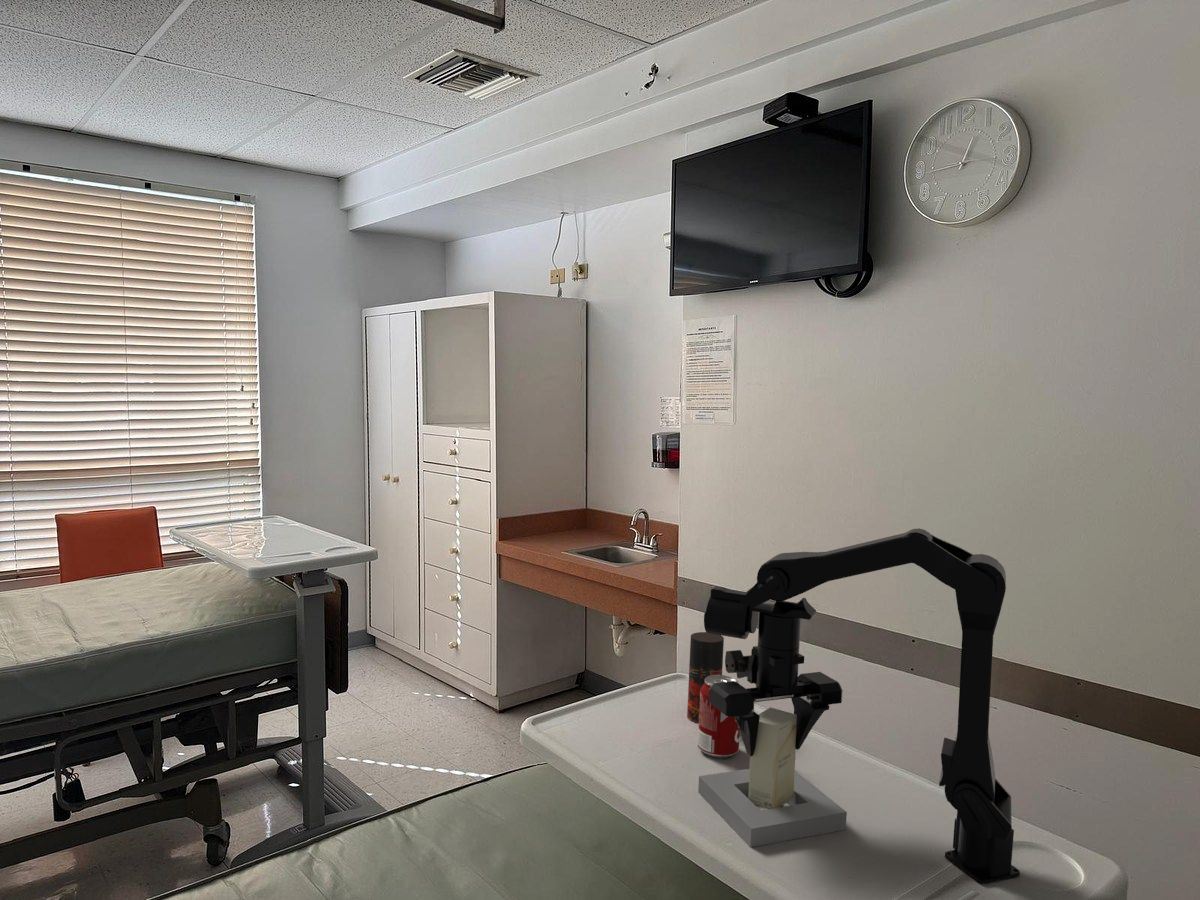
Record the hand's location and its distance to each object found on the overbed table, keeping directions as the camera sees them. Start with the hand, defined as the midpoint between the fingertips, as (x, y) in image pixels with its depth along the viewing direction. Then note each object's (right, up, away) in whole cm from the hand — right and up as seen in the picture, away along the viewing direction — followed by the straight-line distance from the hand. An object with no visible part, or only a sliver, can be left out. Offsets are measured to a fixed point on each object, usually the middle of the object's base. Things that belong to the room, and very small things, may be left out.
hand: (773, 751), depth 116 cm
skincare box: (0, -7, +1) cm, 7 cm away
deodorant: (-6, -6, +33) cm, 34 cm away
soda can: (-5, -7, +19) cm, 21 cm away
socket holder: (0, -9, +1) cm, 9 cm away
